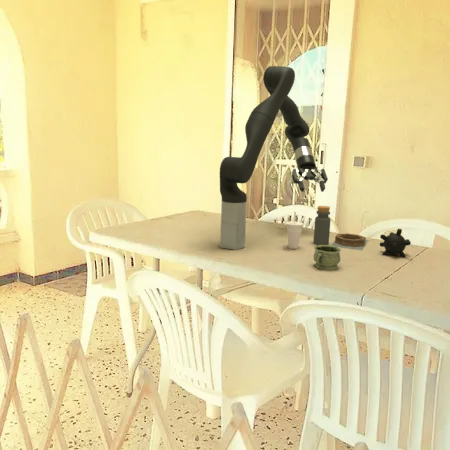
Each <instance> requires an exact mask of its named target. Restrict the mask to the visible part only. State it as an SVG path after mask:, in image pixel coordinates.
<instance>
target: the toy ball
mask: <svg viewBox="0 0 450 450" xmlns="http://www.w3.org/2000/svg"><path fill="white" fill-rule="evenodd" d="M402 232H403V230H402V229H401V228H397V231H396V232H395V233H394V232H390V233H389V234H388V235H385V234H384V233H383V234H380V239H381V240H383V241H382V242H379V246H380V247H381V248H384V249H385V250H384V251H383V252H382V256H384V257H386V256H388V255H389V254H390V255H399V256H400V257H401V258H403V259H404V258H406V254H405V253H404V250H405V249H406V247H407V246H410V245H411V243H412V242H411V241H410V239H405V237H404V236H403V235H402Z"/></svg>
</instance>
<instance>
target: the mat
mask: <svg viewBox="0 0 450 450" xmlns="http://www.w3.org/2000/svg"><path fill="white" fill-rule="evenodd" d="M368 242H369V240H368V239H366V240H365V245H364V246H359V247H350V246H343V245H340V244H337V243H335V240H334V241H333V243H332V244H330V245H331V246H336V247H338V248H340V249H349V250H358V251H363V250H364V249H365V247H366V245H367V244H368Z"/></svg>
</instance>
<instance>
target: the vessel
mask: <svg viewBox="0 0 450 450" xmlns="http://www.w3.org/2000/svg"><path fill="white" fill-rule="evenodd" d="M331 245H332V244H330V245H315V246H314V250H315V251H314V254H313V261H314V262H315V264H314V267H316V268H318V269H321V270H327V271H328V270H329V271H333V270H337V269H338V268H339V265H338V264H340V263H341V254H340V253H341V251H342V248H340V247H336V246H331Z"/></svg>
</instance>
